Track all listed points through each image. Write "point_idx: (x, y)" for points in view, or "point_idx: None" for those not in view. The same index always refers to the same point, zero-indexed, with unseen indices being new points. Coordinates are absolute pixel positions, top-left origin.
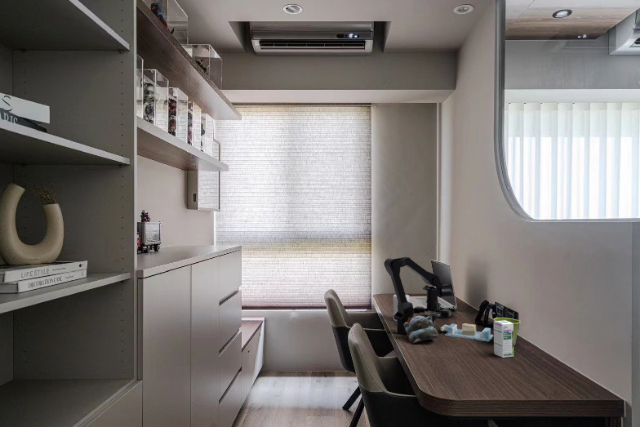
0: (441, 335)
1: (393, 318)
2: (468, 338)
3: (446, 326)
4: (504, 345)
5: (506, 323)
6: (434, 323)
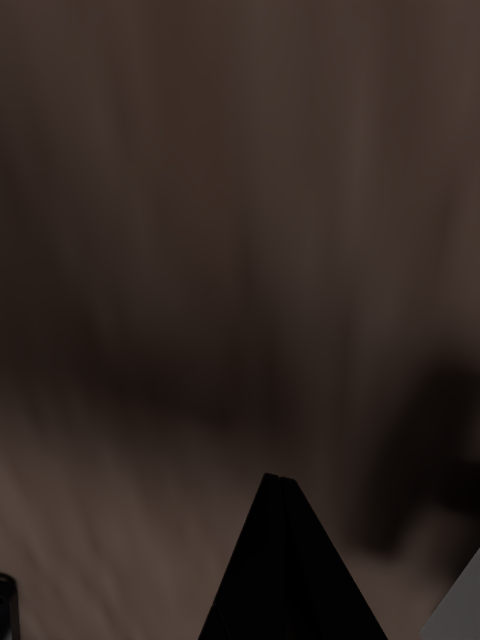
0: (394, 619)
1: None
2: None
3: None
4: None
5: None
6: (341, 594)
